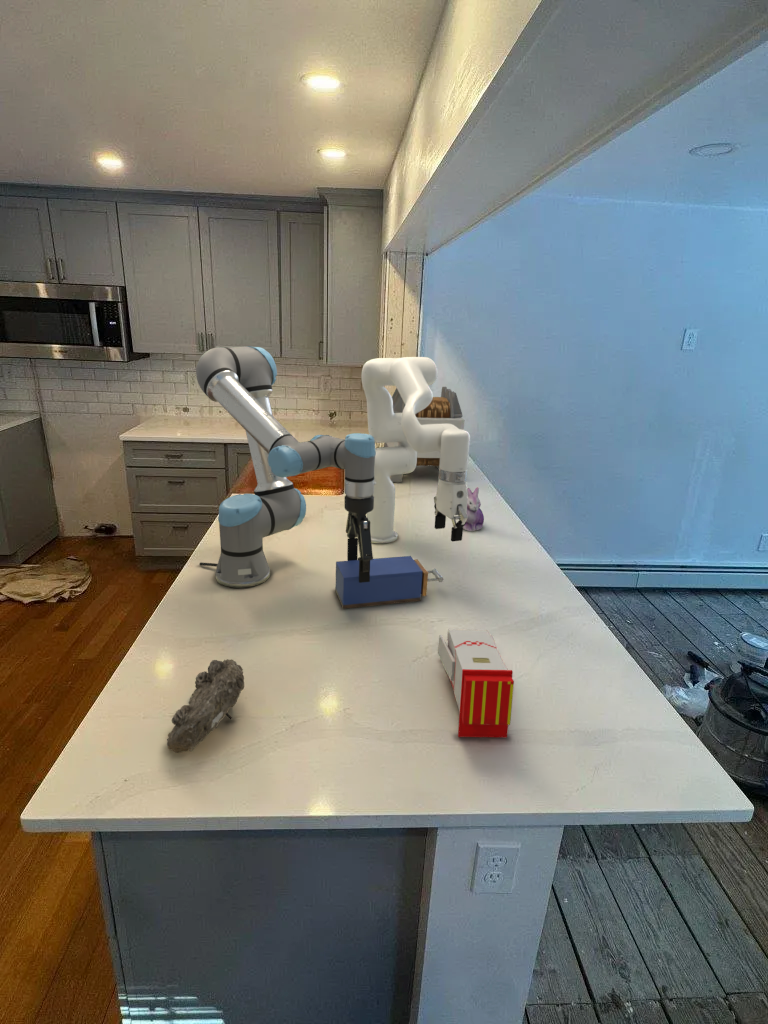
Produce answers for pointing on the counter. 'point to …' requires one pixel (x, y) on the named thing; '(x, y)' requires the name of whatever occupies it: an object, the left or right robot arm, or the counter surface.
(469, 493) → the figurine
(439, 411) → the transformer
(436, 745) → the counter surface
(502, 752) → the counter surface
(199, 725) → the fossil
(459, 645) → the toy
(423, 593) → the drawer
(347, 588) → the cabinet
